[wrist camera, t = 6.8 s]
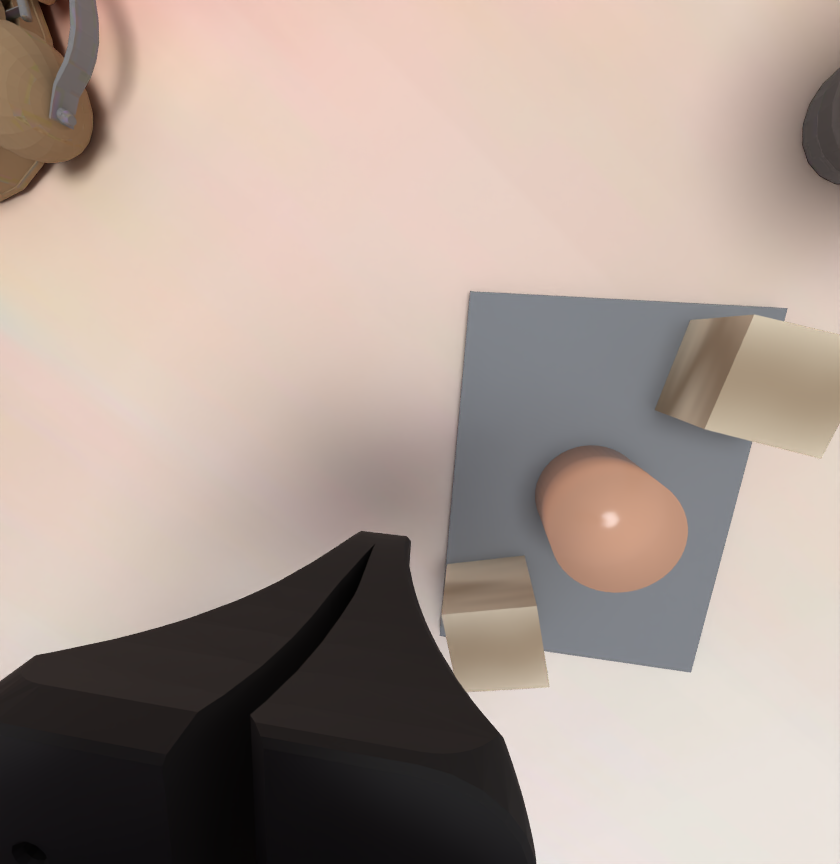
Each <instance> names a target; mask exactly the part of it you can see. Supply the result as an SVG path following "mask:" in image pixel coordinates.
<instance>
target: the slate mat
mask: <svg viewBox="0 0 840 864" xmlns="http://www.w3.org/2000/svg"><path fill="white" fill-rule="evenodd" d="M787 309H788V308H772V307H754V306H735V305H716V304H698V303H679V302H660V301H641V300H623V299H604V298H585V297H566V296H548V295H529V294H510V293H492V292H473V291H470V299H469V311H468V322H467V333H466V345H465V356H464V367H463V378H462V390H461V401H460V412H459V424H458V435H457V446H456V457H455V469H454V480H453V491H452V503H451V514H450V525H449V536H448V548H447V559H446V569H447V564H452V563H461V562H470V561H479V560H488V559H497V558H506V557H515V556H524V555H525V559H526V564H527V568H528V572H529V576H530V580H531V584H532V588H533V592H534V596H535V600H536V605H537V610H538V617H539V623H540V629H541V636H542V642H543V648H544V651H547V652H554V653H561V654H568V655H575V656H582V657H588V658H595V659H602V660H609V661H616V662H623V663H630V664H636V665H643V666H650V667H657V668H664V669H671V670H677V671H684V672H691V670H692V666H693V663H694V659H695V655H696V651H697V648H698V644H699V640H700V636H701V633H702V629H703V625H704V621H705V617H706V614H707V610H708V606H709V602H710V599H711V595H712V591H713V587H714V584H715V580H716V576H717V572H718V569H719V565H720V561H721V557H722V553H723V550H724V546H725V542H726V538H727V535H728V531H729V527H730V523H731V520H732V516H733V512H734V508H735V504H736V501H737V497H738V493H739V489H740V486H741V482H742V478H743V474H744V471H745V467H746V463H747V459H748V455H749V452H750V448H751V444H752V441H749V440H745V439H741V438H737V437H733V436H729V435H725V434H721V433H717V432H713V431H710V430H706V429H703V428H700V427H697V426H695V425H692V424H690V423H687V422H685V421H682V420H679V419H677V418H674V417H672V416H669V415H666V414H664V413H661V412H659V411H656V410H655V408H656V405H657V403H658V400H659V398H660V395H661V393H662V390H663V387H664V385H665V382H666V380H667V377H668V375H669V372H670V370H671V367H672V365H673V362H674V360H675V357H676V355H677V352H678V350H679V347H680V345H681V342H682V340H683V337H684V335H685V332H686V330H687V327H688V325H689V322H690V320H697V319H709V318H720V317H731V316H743V315H754V314H755V315H759V316H763V317H767V318H772V319H776V320H780V321H784V320H785V316H786V312H787ZM589 445H594V446H603V447H607V448H611V449H613V450H616V451H618V452H620V453H621V454H623V455H624V456H626V457H627V458H628V459H630V460H631V461H632V462H634V463H635V464H636V465H637V466H639V467H640V468H641V469H643V470H644V471H645V472H647V473H648V474H649V475H650V476H652V477H653V478H654V479H656V480H657V481H658V482H660V483H661V484H662V485H663V486H665V487H666V488H667V489H668V490H670V491H671V492H672V493H673V494H674V496H675V497H676V498H677V499H678V501H679V502H680V504H681V506H682V508H683V510H684V512H685V515H686V518H687V524H688V537H687V543H686V546H685V549H684V552H683V554H682V556H681V558H680V559H679V561H678V562H677V564H676V565H675V566H674V567H673V569H672V570H671V571H670V572H669V573H668V574H666V575H665V576H664V577H663V578H661V579H660V580H658V581H657V582H655V583H653V584H651V585H649V586H647V587H644V588H642V589H638V590H634V591H629V592H620V593H612V592H603V591H598V590H595V589H591V588H589V587H586V586H584V585H582V584H580V583H579V582H577V581H575V580H574V579H573V578H571V577H570V576H569V575H568V574H567V573H566V572H565V571H564V570H563V569H562V568H561V566H560V565H559V564H558V562H557V560H556V558H555V556H554V554H553V551H552V548H551V545H550V543H549V540H548V537H547V535H546V532H545V529H544V527H543V524H542V521H541V519H540V516H539V513H538V511H537V507H536V503H535V490H536V485H537V482H538V479H539V477H540V475H541V473H542V471H543V470H544V468H545V467H546V466H547V465H548V464H549V463H550V462H551V461H552V460H553V459H554V458H555V457H557V456H558V455H560V454H561V453H563V452H565V451H567V450H570V449H573V448H576V447H580V446H589ZM445 578H446V570H445ZM444 587H445V582H444ZM443 596H444V593H443ZM442 605H443V604H442ZM440 636H445V637H446V634H445V629H444V625H443V620H442V615H441V627H440Z"/></svg>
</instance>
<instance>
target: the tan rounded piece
mask: <svg viewBox="0 0 840 864" xmlns="http://www.w3.org/2000/svg"><path fill="white" fill-rule="evenodd" d="M535 503H536V507H537V511H538V513H539V516H540V519H541V521H542V524H543V527H544V529H545V532H546V535H547V537H548V540H549V543H550V545H551V548H552V551H553V554H554V556H555V558H556V560H557V562H558V564H559V565H560V566H561V568H562V569H563V570H564V571H565V572H566V573H567V574H568V575H569V576H570V577H571V578H573V579H574V580H575V581H577V582H579V583H580V584H582V585H584V586H586V587H589V588H591V589H595V590H598V591H603V592H612V593H620V592H629V591H634V590H638V589H642V588H644V587H647V586H649V585H651V584H653V583H655V582H657V581H658V580H660V579H661V578H663V577H664V576H665V575H666V574H668V573H669V572H670V571H671V570H672V569H673V567H674V566H675V565H676V564H677V562H678V561H679V559H680V558H681V556H682V554H683V552H684V549H685V546H686V543H687V537H688V524H687V518H686V515H685V512H684V510H683V508H682V506H681V504H680V502H679V501H678V499H677V498H676V497H675V496H674V494H673V493H672V492H671V491H670V490H668V489H667V488H666V487H665V486H663V485H662V484H661V483H660V482H658V481H657V480H656V479H654V478H653V477H652V476H650V475H649V474H648V473H647V472H645V471H644V470H643V469H641V468H640V467H639V466H637V465H636V464H635V463H634V462H632V461H631V460H630V459H628V458H627V457H626V456H624V455H623V454H621V453H620V452H618V451H616V450H613V449H611V448H607V447H603V446H594V445H589V446H580V447H576V448H573V449H570V450H567V451H565V452H563V453H561V454H560V455H558V456H557V457H555V458H554V459H553V460H552V461H551V462H550V463H549V464H548V465H547V466H546V467H545V468H544V470H543V471H542V473H541V475H540V477H539V479H538V482H537V485H536V490H535Z"/></svg>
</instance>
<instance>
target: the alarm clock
mask: <svg viewBox="0 0 840 864" xmlns="http://www.w3.org/2000/svg"><path fill="white" fill-rule="evenodd" d="M38 1H40V2H42V3H45V4H47V5H51V4H54V3H55V1H56V0H0V202H1V201H3V200H5V199H7V198H9V197H11V196H13V195H14V194H16V193H18V192H20V191H22V190H24V189H25V188H26V186H27V185H28V184H29V183H30V181H31V180H32V179H33V178H34V176H35V175H36V174H37V173H38V171H39V170H40V169H41V167H42V166H43V165H44V163H57V162H64V161H69V160H71V159H73V158H74V157H76V156H78V155H79V154H81V153H82V152H83V151H84V149H85V148H86V146H87V145H88V144H89V142H90V138H91V134H92V131H93V111H92V108H91V104H90V100H89V97H88V93H87V91H86V89H85V87H86V85H87V83H88V82H89V80H90V78H91V75H92V72H93V69H94V66H95V63H96V59H97V53H98V46H99V23H98V14H97V7H96V0H69V5H70V34H69V41H68V47H67V50H66V54H65V57H63V56H62V55H61V54H60V53H59V52H58V51H57V50H56V49H54V48H53V41H52V38H51V35H50V32H49V30H48V27H47V24H46V21H45V19H44V16H43V13H42V11H41V8H40V5H39V3H38Z"/></svg>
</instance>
